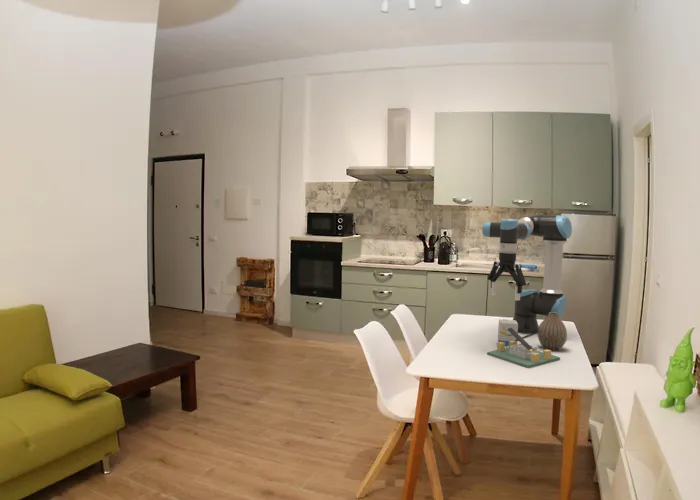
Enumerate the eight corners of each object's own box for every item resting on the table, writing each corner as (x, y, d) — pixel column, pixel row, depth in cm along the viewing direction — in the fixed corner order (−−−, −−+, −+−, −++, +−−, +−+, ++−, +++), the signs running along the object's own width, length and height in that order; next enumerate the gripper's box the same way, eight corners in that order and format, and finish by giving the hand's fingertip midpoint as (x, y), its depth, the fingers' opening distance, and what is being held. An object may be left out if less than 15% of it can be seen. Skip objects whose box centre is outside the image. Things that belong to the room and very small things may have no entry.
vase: (537, 350, 232) (539, 314, 230) (536, 343, 244) (538, 309, 242) (567, 353, 227) (569, 317, 226) (565, 346, 239) (567, 311, 238)
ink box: (517, 347, 236) (518, 323, 235) (499, 345, 238) (500, 322, 237) (514, 342, 245) (516, 319, 244) (497, 341, 246) (498, 318, 245)
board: (518, 347, 235) (518, 337, 235) (559, 359, 217) (560, 349, 217) (487, 354, 222) (487, 344, 222) (528, 368, 204) (529, 356, 204)
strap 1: (511, 329, 222) (512, 327, 221) (534, 351, 212) (535, 349, 212) (506, 329, 220) (507, 328, 219) (529, 352, 210) (530, 350, 210)
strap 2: (517, 341, 228) (517, 339, 229) (542, 332, 217) (541, 330, 218) (513, 342, 227) (512, 340, 227) (538, 333, 216) (537, 330, 216)
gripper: (481, 250, 231) (479, 294, 233) (525, 255, 210) (522, 303, 212) (492, 249, 235) (489, 292, 237) (536, 254, 214) (533, 301, 216)
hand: (505, 297), depth 224 cm, fingers open, 13 cm apart
